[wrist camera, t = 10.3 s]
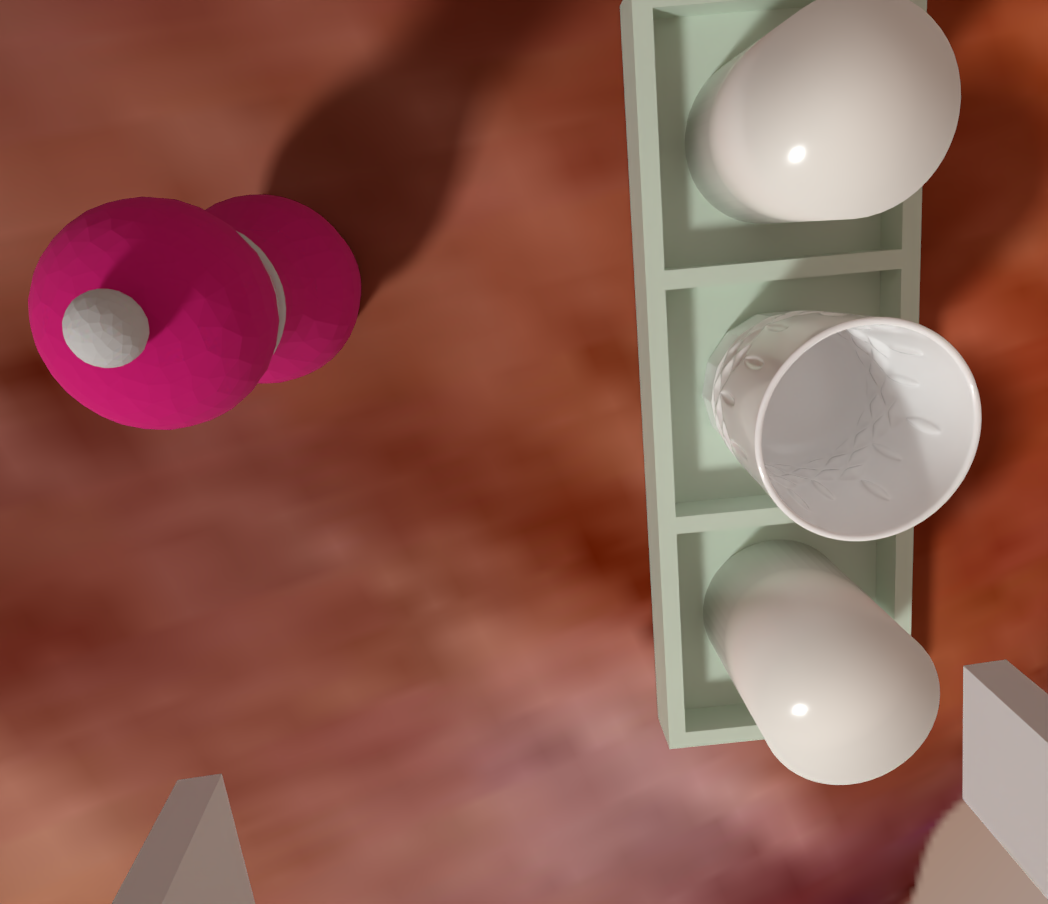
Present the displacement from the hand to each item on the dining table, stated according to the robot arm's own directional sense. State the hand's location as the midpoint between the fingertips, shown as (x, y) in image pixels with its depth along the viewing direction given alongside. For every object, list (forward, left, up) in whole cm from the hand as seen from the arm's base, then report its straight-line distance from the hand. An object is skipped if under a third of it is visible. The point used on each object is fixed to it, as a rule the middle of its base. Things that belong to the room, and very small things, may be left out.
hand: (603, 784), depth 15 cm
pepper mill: (-8, -10, -26) cm, 29 cm away
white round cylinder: (-13, +11, -25) cm, 30 cm away
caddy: (-2, +11, -26) cm, 28 cm away
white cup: (-2, +11, -25) cm, 28 cm away
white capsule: (+9, +11, -25) cm, 29 cm away
